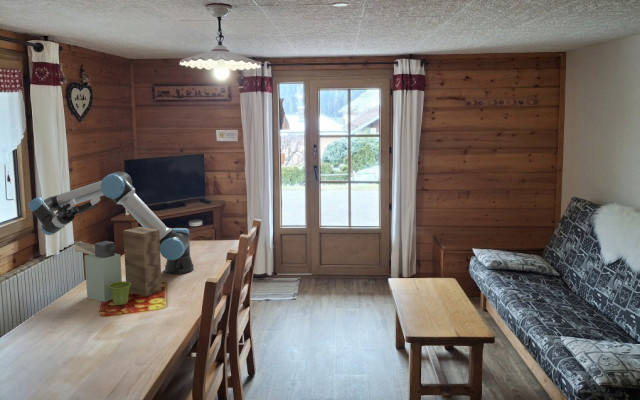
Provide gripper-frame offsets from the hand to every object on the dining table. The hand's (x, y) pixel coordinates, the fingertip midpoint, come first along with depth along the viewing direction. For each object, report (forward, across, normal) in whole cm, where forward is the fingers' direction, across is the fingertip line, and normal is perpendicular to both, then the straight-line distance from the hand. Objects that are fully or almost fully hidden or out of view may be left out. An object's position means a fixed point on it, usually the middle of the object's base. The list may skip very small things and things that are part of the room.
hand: (87, 199), depth 266 cm
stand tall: (0, -9, -51) cm, 51 cm away
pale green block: (-8, +6, -46) cm, 47 cm away
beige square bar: (-3, +6, -25) cm, 26 cm away
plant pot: (+3, +8, -53) cm, 53 cm away
